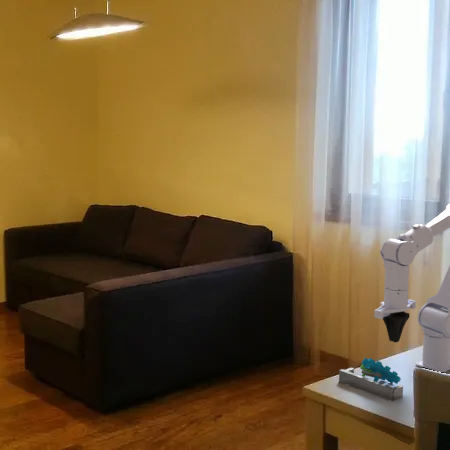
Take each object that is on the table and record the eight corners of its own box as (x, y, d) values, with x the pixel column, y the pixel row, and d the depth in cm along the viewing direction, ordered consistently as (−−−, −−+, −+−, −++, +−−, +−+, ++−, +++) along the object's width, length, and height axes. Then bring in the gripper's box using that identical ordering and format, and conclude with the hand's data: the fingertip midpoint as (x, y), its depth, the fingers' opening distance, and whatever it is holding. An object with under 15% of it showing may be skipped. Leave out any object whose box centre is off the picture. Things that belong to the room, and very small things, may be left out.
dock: (350, 377, 172) (351, 365, 171) (402, 396, 160) (403, 384, 159) (338, 381, 169) (339, 370, 168) (391, 401, 157) (391, 388, 157)
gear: (409, 382, 164) (386, 359, 160) (398, 403, 162) (374, 380, 158) (376, 374, 173) (353, 351, 169) (365, 394, 171) (342, 372, 167)
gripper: (399, 280, 176) (397, 331, 178) (364, 289, 166) (363, 343, 169) (423, 285, 170) (421, 337, 173) (389, 295, 161) (386, 350, 163)
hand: (394, 340), depth 170 cm, fingers closed
